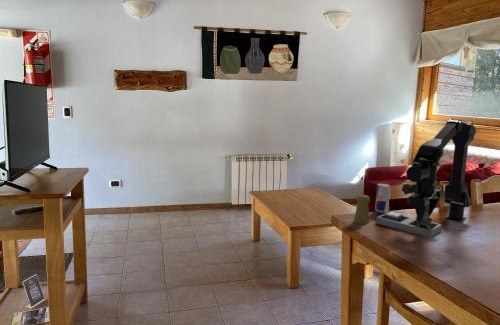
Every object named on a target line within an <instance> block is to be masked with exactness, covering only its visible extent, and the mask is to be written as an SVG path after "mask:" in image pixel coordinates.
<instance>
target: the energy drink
mask: <svg viewBox="0 0 500 325" xmlns="http://www.w3.org/2000/svg"><path fill="white" fill-rule="evenodd" d="M376 185H377V186H376V194H375V206H374V207H375V209H374V210H375V212H377V213H380V214H385V213H387V212H389V204H390V202H389V201H390V191H391V188H390V186H391V185H390V184H387V183H377V184H376Z"/></svg>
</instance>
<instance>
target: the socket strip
mask: <svg viewBox="0 0 500 325" xmlns="http://www.w3.org/2000/svg"><path fill="white" fill-rule="evenodd" d="M390 212H391V211H390ZM390 212H389V211H388V212H387V213H390ZM387 213H382V214H380V215H378V216H376V221H375V222H376V223H375V224H378V225H381V226H384V227H388V228H389V227H390V228H393V229H395V230H396V229H397V230H399V231H403V232H408V233H412V234H416V235H421V236H422V237H426V238H427V237H428V238H432V237H434V236H436V235H437V234H439V233H441V232H442V229H443V228H442V225H443V224H440V223H436V222H433V221H431V223H430V225H428V226H429V227H430V228H431V229H430V230H429V229H425V228H421V227H417V225H419V224H418V223H417V221H416V217H412V216H411V217H410V216H407V215H403V221H402V222H397V221H392V220H388V219H385V217H386V215H387Z"/></svg>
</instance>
